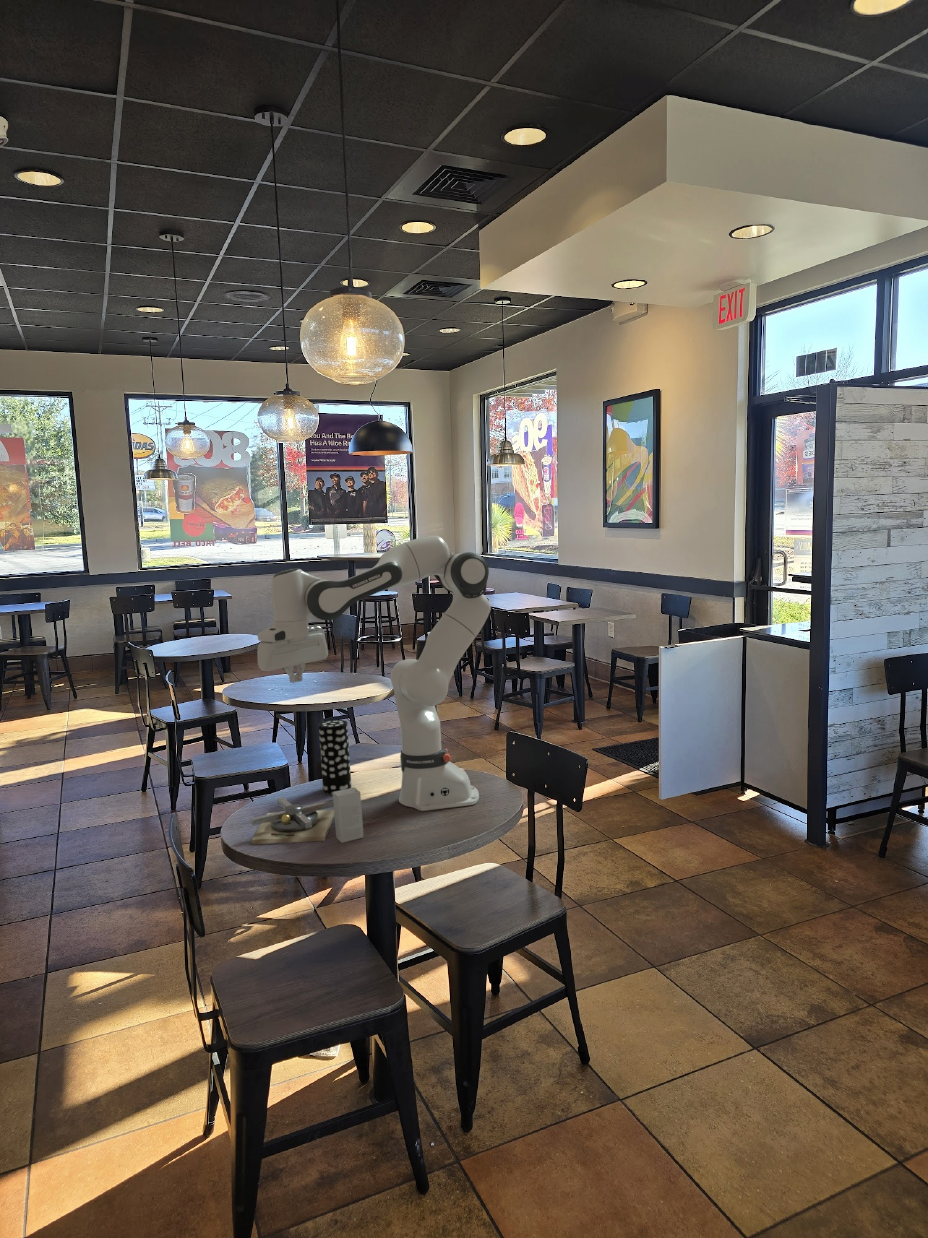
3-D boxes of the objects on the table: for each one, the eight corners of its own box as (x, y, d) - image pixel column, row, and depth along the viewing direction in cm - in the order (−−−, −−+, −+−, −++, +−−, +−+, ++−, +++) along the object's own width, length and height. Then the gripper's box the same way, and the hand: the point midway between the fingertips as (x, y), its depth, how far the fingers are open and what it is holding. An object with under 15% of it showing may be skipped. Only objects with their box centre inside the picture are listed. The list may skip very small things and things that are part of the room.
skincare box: (358, 832, 202) (355, 786, 201) (363, 838, 198) (361, 791, 197) (335, 837, 199) (332, 791, 198) (340, 843, 196) (337, 796, 194)
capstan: (280, 809, 216) (279, 794, 216) (337, 812, 212) (336, 797, 212) (249, 833, 200) (248, 817, 200) (310, 837, 196) (309, 821, 196)
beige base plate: (334, 814, 216) (334, 809, 215) (324, 840, 198) (324, 835, 198) (268, 817, 215) (267, 812, 215) (251, 844, 197) (251, 838, 197)
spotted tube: (354, 784, 239) (350, 719, 237) (347, 794, 231) (343, 727, 228) (327, 785, 240) (322, 720, 237) (319, 794, 232) (315, 727, 229)
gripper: (316, 624, 220) (320, 673, 222) (252, 635, 206) (256, 687, 207) (330, 625, 216) (334, 675, 218) (265, 636, 201) (270, 690, 203)
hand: (296, 681), depth 213 cm, fingers closed
